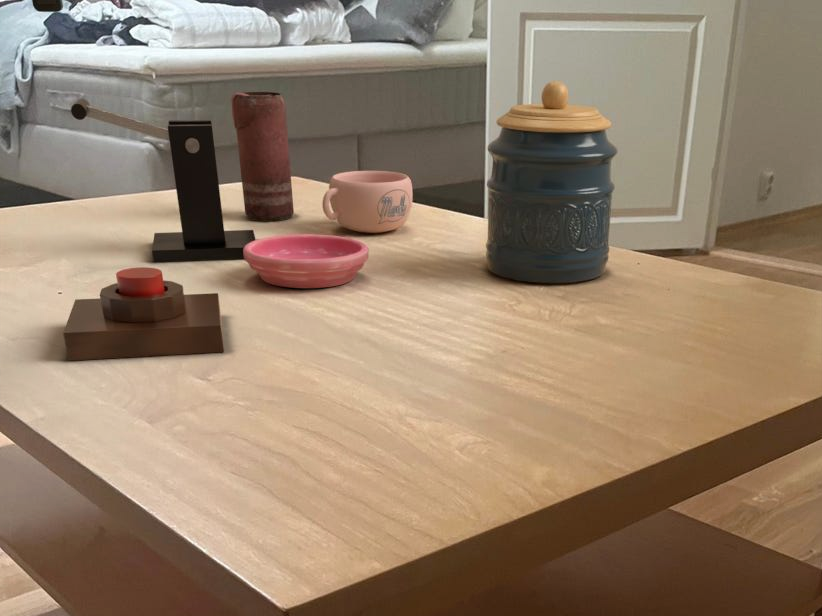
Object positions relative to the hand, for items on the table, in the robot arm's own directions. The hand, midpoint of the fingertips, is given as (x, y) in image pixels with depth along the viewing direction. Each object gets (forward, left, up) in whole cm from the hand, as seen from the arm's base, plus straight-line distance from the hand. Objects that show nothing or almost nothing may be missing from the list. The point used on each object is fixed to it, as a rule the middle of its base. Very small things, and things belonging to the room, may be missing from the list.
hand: (49, 11), depth 84 cm
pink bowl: (+20, +2, -23) cm, 31 cm away
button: (+5, -16, -19) cm, 26 cm away
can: (+18, +34, -23) cm, 45 cm away
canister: (+45, +1, -23) cm, 51 cm away
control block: (+5, -16, -23) cm, 28 cm away
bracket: (+10, +16, -23) cm, 30 cm away
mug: (+29, +24, -23) cm, 44 cm away
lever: (+5, +16, -12) cm, 20 cm away
